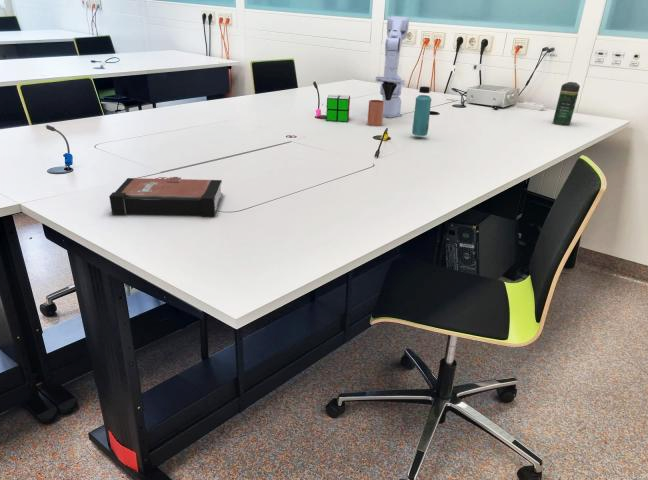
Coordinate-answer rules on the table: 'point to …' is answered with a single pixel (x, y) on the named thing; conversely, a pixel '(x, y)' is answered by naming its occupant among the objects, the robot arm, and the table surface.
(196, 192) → the book
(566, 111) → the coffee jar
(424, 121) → the beverage bottle
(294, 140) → the table surface
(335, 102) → the puzzle cube
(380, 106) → the cup
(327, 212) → the table surface
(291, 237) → the table surface
